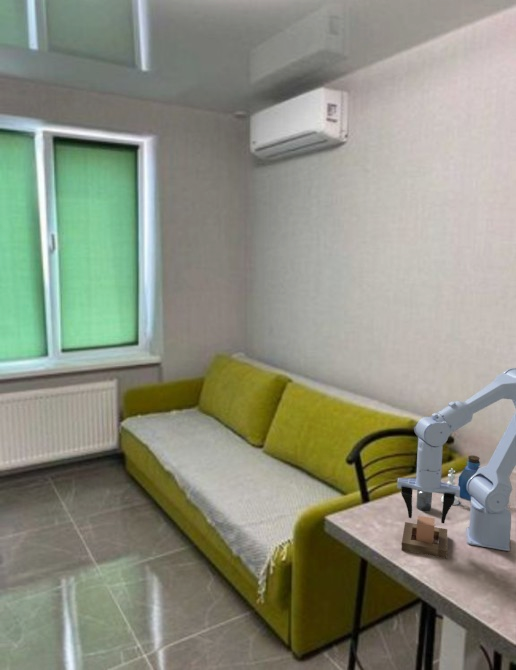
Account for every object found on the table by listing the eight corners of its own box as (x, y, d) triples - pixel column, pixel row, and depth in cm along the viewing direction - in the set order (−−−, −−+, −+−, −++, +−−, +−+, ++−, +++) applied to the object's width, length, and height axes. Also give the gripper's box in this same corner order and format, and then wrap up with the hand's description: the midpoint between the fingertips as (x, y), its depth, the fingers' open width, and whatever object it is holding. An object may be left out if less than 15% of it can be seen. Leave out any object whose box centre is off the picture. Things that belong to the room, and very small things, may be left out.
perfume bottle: (463, 489, 160) (465, 451, 158) (484, 494, 156) (487, 456, 154) (457, 496, 155) (460, 458, 153) (479, 502, 151) (482, 463, 149)
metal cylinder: (431, 506, 149) (432, 489, 148) (430, 512, 145) (431, 495, 144) (416, 503, 150) (417, 487, 149) (416, 510, 146) (416, 493, 146)
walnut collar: (446, 536, 133) (447, 529, 132) (446, 558, 123) (447, 550, 123) (404, 529, 136) (405, 521, 136) (401, 550, 126) (401, 542, 126)
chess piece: (460, 505, 149) (462, 472, 147) (442, 504, 150) (444, 471, 148) (457, 498, 154) (459, 466, 152) (439, 496, 155) (441, 464, 153)
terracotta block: (433, 540, 131) (434, 518, 130) (432, 548, 127) (434, 526, 126) (416, 537, 132) (417, 515, 131) (415, 545, 128) (417, 523, 128)
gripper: (460, 464, 128) (457, 516, 130) (399, 456, 133) (397, 506, 135) (461, 476, 121) (457, 530, 123) (397, 467, 126) (395, 519, 128)
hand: (426, 518), depth 129 cm, fingers open, 7 cm apart
